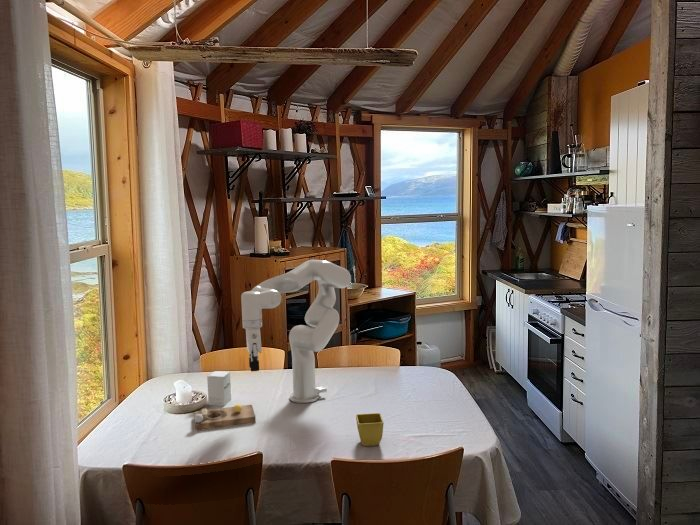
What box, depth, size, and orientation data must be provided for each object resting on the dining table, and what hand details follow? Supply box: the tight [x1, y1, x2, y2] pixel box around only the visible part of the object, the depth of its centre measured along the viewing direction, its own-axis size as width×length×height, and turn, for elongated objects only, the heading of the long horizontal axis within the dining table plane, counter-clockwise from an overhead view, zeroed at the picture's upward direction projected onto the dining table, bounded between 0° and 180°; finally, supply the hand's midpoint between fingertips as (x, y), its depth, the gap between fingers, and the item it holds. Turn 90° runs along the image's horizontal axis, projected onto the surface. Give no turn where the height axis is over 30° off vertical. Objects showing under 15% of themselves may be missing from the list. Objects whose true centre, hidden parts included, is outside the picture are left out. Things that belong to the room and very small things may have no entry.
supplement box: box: [206, 370, 232, 407], centre depth 228 cm, size 7×7×13 cm
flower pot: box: [355, 412, 384, 447], centre depth 187 cm, size 9×9×9 cm
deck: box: [194, 404, 257, 431], centre depth 210 cm, size 22×13×4 cm, turn 106°
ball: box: [233, 403, 243, 413], centre depth 211 cm, size 3×3×3 cm
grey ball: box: [193, 414, 203, 423], centre depth 202 cm, size 3×3×3 cm
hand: (254, 368), depth 211 cm, fingers open, 4 cm apart
